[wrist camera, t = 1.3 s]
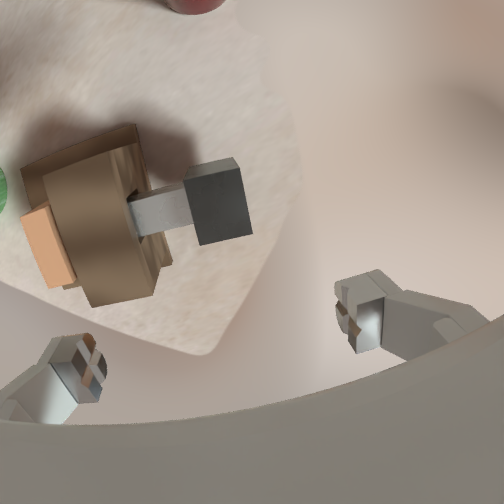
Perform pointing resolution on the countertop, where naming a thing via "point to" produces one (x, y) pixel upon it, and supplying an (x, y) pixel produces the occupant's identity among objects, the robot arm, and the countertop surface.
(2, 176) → the ramekin
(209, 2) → the soda can
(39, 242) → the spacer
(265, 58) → the countertop surface
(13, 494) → the robot arm
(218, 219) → the shaft
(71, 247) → the shaft stand
